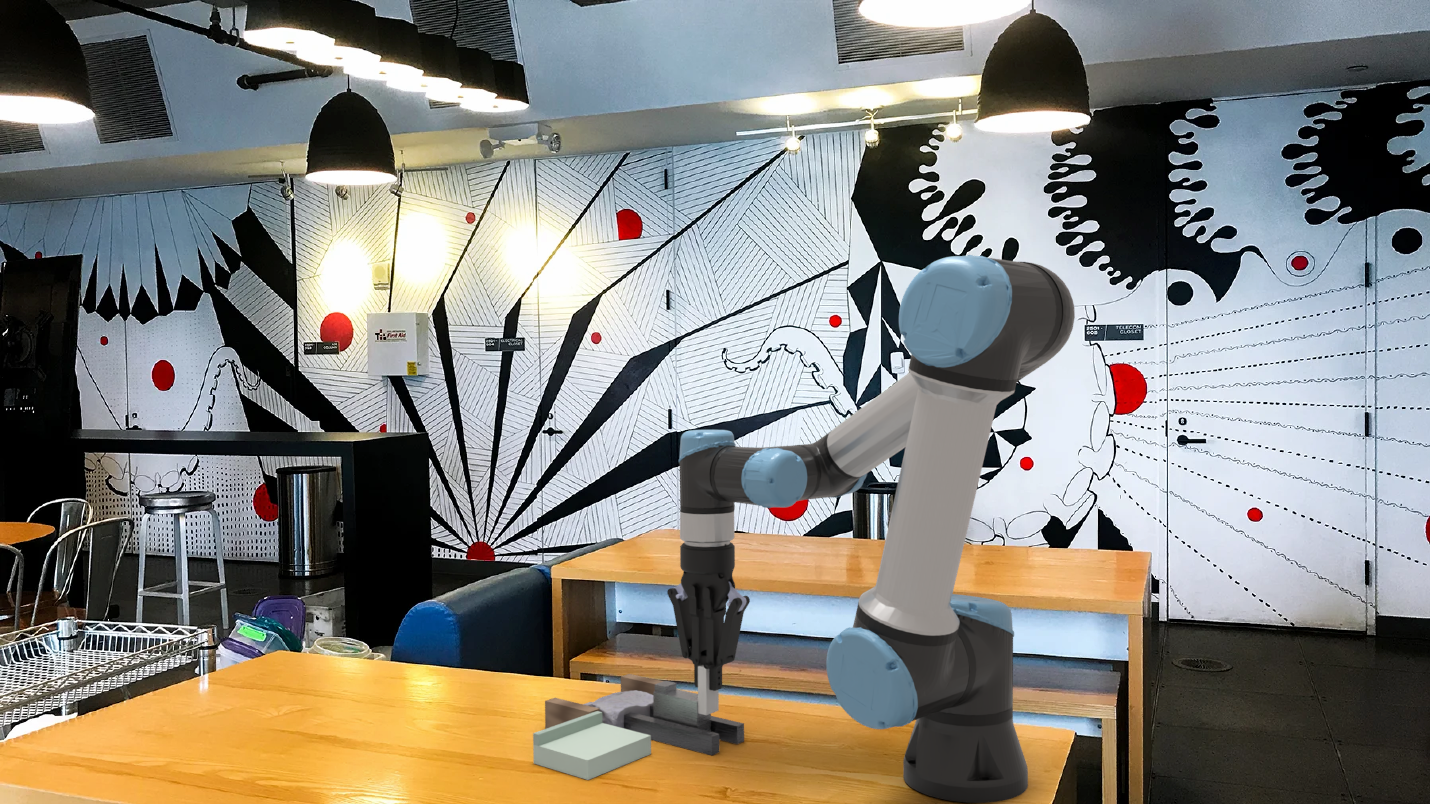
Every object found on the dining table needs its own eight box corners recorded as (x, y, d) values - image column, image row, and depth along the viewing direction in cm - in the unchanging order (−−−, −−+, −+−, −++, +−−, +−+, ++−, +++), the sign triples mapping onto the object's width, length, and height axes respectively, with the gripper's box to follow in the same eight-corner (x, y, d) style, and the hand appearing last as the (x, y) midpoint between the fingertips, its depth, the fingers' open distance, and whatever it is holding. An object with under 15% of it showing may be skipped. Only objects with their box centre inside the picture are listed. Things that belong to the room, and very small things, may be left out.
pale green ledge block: (651, 753, 148) (650, 724, 148) (587, 780, 139) (587, 748, 139) (597, 739, 154) (597, 710, 154) (533, 763, 145) (533, 733, 145)
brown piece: (673, 709, 168) (672, 683, 168) (589, 740, 154) (589, 712, 154) (629, 699, 173) (629, 673, 173) (545, 728, 159) (545, 700, 159)
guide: (744, 741, 153) (744, 723, 153) (712, 755, 147) (712, 736, 147) (657, 719, 163) (657, 703, 163) (624, 732, 157) (623, 715, 157)
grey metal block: (710, 739, 154) (710, 689, 154) (697, 745, 151) (697, 694, 151) (667, 728, 159) (667, 680, 159) (653, 733, 156) (653, 684, 156)
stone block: (567, 739, 161) (617, 737, 155) (563, 705, 161) (612, 703, 155) (622, 721, 170) (671, 719, 164) (617, 689, 171) (666, 686, 165)
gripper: (761, 542, 150) (762, 714, 151) (688, 534, 158) (689, 697, 159) (728, 549, 145) (729, 728, 145) (653, 541, 153) (655, 709, 153)
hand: (708, 711), depth 152 cm, fingers closed
